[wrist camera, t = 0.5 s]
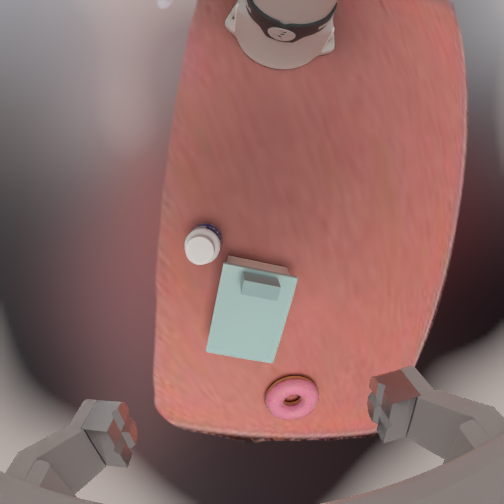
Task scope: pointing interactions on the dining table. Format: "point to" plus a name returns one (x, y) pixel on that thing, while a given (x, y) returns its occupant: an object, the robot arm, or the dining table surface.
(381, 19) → the dining table surface
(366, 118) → the dining table surface
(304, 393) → the doughnut
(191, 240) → the pill bottle
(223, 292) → the lid
